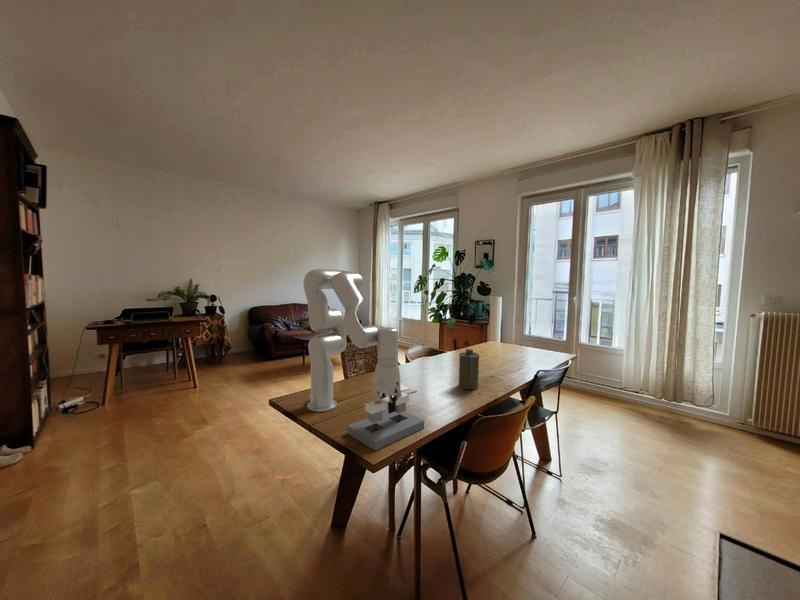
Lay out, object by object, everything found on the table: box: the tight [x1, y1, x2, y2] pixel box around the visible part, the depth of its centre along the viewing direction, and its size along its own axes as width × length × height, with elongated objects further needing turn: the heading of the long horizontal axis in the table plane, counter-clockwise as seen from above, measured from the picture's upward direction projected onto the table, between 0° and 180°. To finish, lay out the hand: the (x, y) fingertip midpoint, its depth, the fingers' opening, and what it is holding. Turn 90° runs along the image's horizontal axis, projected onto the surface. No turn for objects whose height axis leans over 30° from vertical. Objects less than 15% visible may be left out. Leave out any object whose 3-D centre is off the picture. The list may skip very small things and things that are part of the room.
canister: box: [458, 348, 480, 391], centre depth 170 cm, size 11×10×20 cm
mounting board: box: [346, 410, 425, 451], centre depth 120 cm, size 16×24×3 cm, turn 134°
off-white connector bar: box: [364, 392, 410, 423], centre depth 119 cm, size 4×18×6 cm, turn 134°
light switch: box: [400, 382, 418, 395], centre depth 164 cm, size 11×4×13 cm
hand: (387, 409), depth 120 cm, fingers closed on off-white connector bar, 4 cm apart
